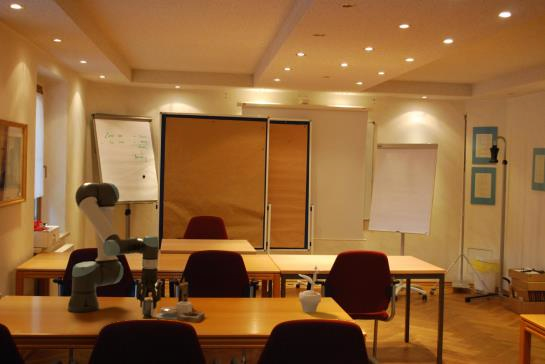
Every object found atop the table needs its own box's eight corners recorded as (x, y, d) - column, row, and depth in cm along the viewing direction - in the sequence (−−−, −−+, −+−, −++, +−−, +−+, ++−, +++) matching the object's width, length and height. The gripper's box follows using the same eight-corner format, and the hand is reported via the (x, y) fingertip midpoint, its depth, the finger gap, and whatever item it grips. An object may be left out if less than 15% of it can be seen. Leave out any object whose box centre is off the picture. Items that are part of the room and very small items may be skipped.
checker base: (153, 317, 272) (153, 316, 272) (162, 312, 284) (162, 311, 284) (176, 320, 269) (176, 319, 269) (185, 314, 281) (185, 313, 281)
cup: (175, 316, 277) (176, 304, 277) (180, 313, 283) (180, 301, 283) (187, 317, 276) (187, 305, 276) (191, 314, 282) (191, 302, 281)
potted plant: (323, 311, 298) (325, 264, 297) (315, 315, 287) (317, 267, 287) (301, 308, 303) (303, 262, 303) (293, 312, 292) (295, 265, 292)
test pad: (157, 313, 273) (157, 310, 273) (164, 309, 282) (164, 306, 282) (174, 315, 271) (174, 311, 271) (181, 310, 280) (181, 307, 280)
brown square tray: (178, 320, 269) (178, 316, 269) (185, 315, 279) (185, 311, 279) (197, 322, 267) (197, 318, 267) (204, 317, 277) (204, 313, 277)
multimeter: (193, 313, 284) (194, 274, 284) (175, 311, 286) (176, 272, 286) (202, 306, 299) (204, 269, 298) (185, 304, 301) (186, 268, 300)
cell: (142, 317, 272) (142, 299, 272) (145, 315, 276) (146, 297, 276) (150, 318, 271) (151, 300, 271) (154, 315, 276) (154, 298, 275)
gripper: (130, 267, 271) (128, 314, 272) (163, 270, 268) (161, 318, 268) (137, 264, 279) (135, 311, 279) (169, 267, 275) (167, 314, 276)
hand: (148, 314), depth 274 cm, fingers closed on cell, 4 cm apart
